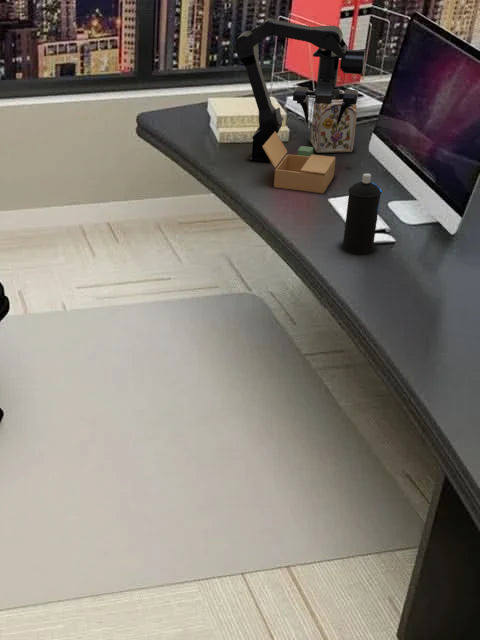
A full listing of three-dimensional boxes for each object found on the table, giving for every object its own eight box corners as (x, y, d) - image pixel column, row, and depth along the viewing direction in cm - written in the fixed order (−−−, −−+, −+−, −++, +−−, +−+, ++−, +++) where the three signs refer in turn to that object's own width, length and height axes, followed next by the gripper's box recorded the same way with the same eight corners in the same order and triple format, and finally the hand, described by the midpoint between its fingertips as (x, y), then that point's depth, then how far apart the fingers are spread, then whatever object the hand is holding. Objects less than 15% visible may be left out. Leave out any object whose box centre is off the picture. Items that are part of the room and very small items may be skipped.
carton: (273, 187, 297) (275, 167, 294) (285, 170, 307) (287, 151, 304) (323, 193, 292) (325, 173, 288) (333, 176, 302) (335, 156, 299)
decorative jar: (353, 152, 318) (359, 96, 308) (316, 154, 318) (321, 97, 308) (345, 140, 328) (351, 85, 318) (309, 141, 328) (314, 86, 318)
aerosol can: (355, 257, 257) (365, 183, 245) (335, 245, 263) (343, 172, 251) (380, 249, 260) (391, 176, 248) (359, 238, 266) (368, 166, 254)
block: (296, 162, 313) (297, 150, 311) (299, 158, 316) (300, 145, 314) (309, 163, 312) (310, 151, 309) (312, 159, 315) (313, 147, 312)
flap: (275, 167, 294) (274, 167, 294) (287, 151, 304) (286, 152, 304) (263, 146, 292) (262, 146, 292) (275, 131, 302) (274, 131, 302)
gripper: (292, 78, 292) (288, 130, 301) (358, 81, 287) (351, 134, 296) (297, 67, 301) (292, 118, 309) (360, 70, 296) (354, 122, 305)
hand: (322, 123), depth 305 cm, fingers open, 9 cm apart
